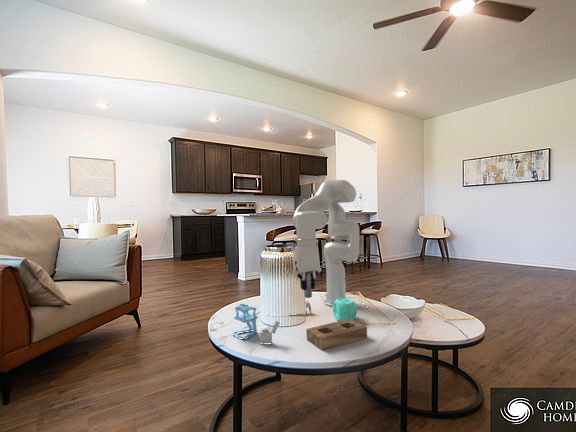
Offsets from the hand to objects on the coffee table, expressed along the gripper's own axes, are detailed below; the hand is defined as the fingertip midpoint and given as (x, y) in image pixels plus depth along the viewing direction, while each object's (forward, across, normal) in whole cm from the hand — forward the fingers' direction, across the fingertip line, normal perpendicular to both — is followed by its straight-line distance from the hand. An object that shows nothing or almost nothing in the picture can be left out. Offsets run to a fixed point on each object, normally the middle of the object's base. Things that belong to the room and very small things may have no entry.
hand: (307, 288), depth 119 cm
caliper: (+17, -2, -21) cm, 27 cm away
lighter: (+17, +18, +3) cm, 25 cm away
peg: (+3, 0, 0) cm, 3 cm away
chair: (+17, +23, -9) cm, 30 cm away
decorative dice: (+17, -20, -3) cm, 26 cm away
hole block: (+17, -5, +12) cm, 21 cm away
